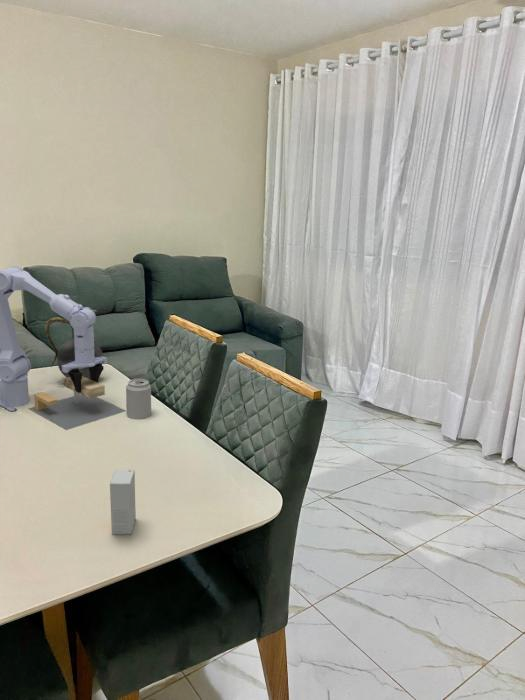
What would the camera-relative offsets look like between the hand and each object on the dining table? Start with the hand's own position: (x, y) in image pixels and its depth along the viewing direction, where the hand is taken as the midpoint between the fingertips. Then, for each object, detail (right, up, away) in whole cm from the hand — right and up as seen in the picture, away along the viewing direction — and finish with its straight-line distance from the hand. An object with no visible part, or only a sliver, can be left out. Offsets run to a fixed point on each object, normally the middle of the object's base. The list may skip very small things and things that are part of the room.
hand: (86, 389), depth 169 cm
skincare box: (+26, -25, -55) cm, 66 cm away
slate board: (-3, -7, +1) cm, 8 cm away
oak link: (-1, 0, +1) cm, 1 cm away
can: (+17, -9, 0) cm, 19 cm away
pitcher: (-12, 0, +26) cm, 29 cm away
